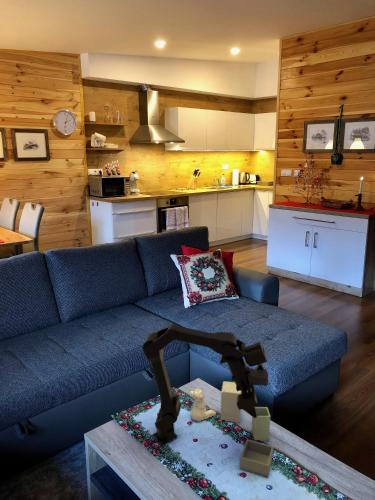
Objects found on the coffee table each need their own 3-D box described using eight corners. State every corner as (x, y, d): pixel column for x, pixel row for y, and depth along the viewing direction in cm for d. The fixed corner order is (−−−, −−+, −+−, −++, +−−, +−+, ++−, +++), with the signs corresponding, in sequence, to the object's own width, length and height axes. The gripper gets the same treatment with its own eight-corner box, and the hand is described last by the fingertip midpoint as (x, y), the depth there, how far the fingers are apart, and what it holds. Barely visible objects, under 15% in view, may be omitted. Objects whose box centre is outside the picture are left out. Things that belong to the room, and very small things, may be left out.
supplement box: (239, 423, 151) (240, 394, 148) (219, 420, 152) (220, 391, 149) (241, 411, 158) (242, 382, 155) (222, 408, 159) (223, 380, 156)
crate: (239, 469, 129) (240, 457, 128) (246, 450, 137) (246, 439, 136) (267, 477, 126) (268, 465, 125) (272, 457, 134) (273, 446, 133)
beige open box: (254, 441, 142) (255, 416, 139) (251, 430, 147) (252, 407, 144) (268, 440, 142) (270, 416, 139) (265, 430, 147) (267, 407, 144)
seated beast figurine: (216, 415, 155) (217, 387, 152) (204, 427, 149) (204, 399, 146) (196, 406, 161) (196, 379, 158) (183, 417, 154) (183, 390, 151)
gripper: (263, 378, 122) (280, 420, 125) (260, 348, 140) (276, 386, 143) (228, 388, 125) (246, 429, 128) (230, 357, 143) (246, 394, 146)
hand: (255, 408), depth 136 cm, fingers open, 9 cm apart
